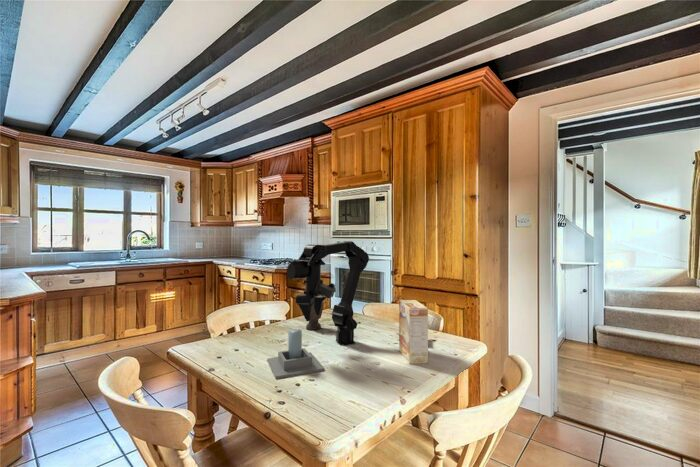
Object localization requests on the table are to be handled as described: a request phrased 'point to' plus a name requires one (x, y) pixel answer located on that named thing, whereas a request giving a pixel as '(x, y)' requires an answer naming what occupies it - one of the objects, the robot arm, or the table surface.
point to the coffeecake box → (413, 331)
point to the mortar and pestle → (314, 320)
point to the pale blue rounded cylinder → (294, 344)
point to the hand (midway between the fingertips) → (313, 318)
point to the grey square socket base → (294, 364)
